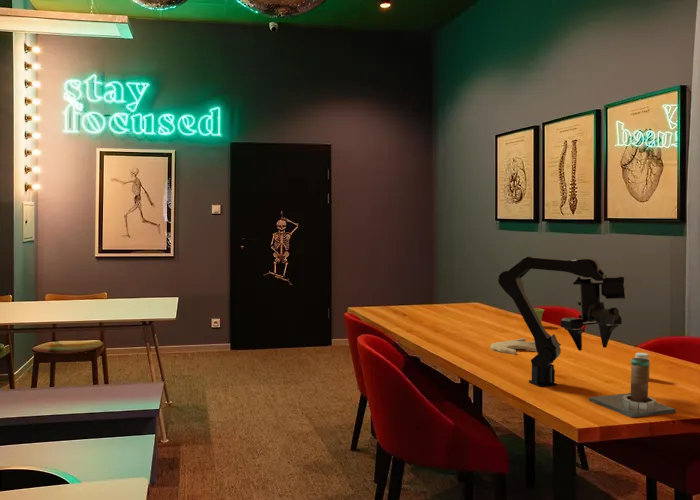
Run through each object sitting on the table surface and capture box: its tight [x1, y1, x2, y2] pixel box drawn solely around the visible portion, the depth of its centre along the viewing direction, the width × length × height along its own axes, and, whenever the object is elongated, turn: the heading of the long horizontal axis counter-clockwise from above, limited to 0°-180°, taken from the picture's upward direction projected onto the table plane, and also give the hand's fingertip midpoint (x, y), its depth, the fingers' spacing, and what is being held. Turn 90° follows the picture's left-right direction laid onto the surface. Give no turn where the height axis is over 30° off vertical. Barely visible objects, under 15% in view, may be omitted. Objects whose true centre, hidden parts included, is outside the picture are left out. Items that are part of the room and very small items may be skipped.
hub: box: [588, 392, 677, 419], centre depth 182 cm, size 15×17×3 cm
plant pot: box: [533, 307, 545, 323], centre depth 318 cm, size 9×9×9 cm
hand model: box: [489, 337, 537, 356], centre depth 261 cm, size 19×5×20 cm
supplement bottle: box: [634, 352, 651, 381], centre depth 215 cm, size 5×5×8 cm
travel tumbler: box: [630, 357, 650, 402], centre depth 179 cm, size 5×5×13 cm
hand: (592, 349), depth 199 cm, fingers open, 9 cm apart
